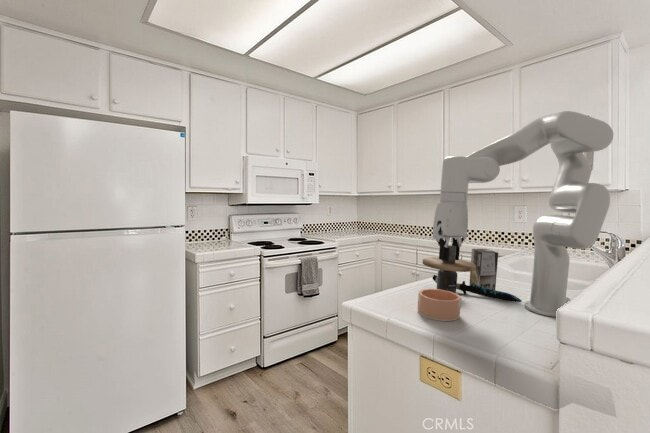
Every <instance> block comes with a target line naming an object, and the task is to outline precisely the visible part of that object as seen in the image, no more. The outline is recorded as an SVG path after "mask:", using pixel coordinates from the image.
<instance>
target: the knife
mask: <svg viewBox="0 0 650 433" xmlns="http://www.w3.org/2000/svg"><path fill="white" fill-rule="evenodd" d="M437 276H438V275H436V274H433V275H432V280H433V282H435V283H436V284H437ZM469 285H470V284H469ZM469 285H468V284H466V281H465V280H463V281H462V282H461V283H458V282H457V287H456V290H459V291H461V292H463V296H465V295H467V292H468V293H472V294H474V295H477V296H483V297H485V298H486V297H487V298H491V299H496V300H499V301H506V302H511V303H522V299H520V298H519V297H518V296H516V295H514V294H511V293H509V292H504V291H499V290H496V289H495V290H491V289H487V288H483V287H480V286H478V285H475V284H474V283H472V284H471V285H470V286H469Z"/></svg>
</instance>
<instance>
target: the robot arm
mask: <svg viewBox="0 0 650 433" xmlns="http://www.w3.org/2000/svg"><path fill="white" fill-rule="evenodd" d="M613 140H614V132H613V129H612V127H611V125H610V124H608V123H607V122H605V121H603V120H600V119H598V118H595V117H592V116H589V115H586V114H583V113H580V112H577V111H571V110H565V111H560V112H555V113H551V114H547V115H543V116H540V117H538V118H536V119H534V120H532V121H531V122H529V123H527V124H526V125H524V126H522V127H521V128H518V130H516V131H513V132H512V133H510V134H508V135H507V136H505V137H503V138H501V139H498V140H496V141H495V142H492V143H490V144H488V145H486V146H484V147H481V148H479V149H477V150H475V151H473V152H472V153H471V154H468V155H467V156H462V155H461V156H460V155H453V156H452V155H451V156H446V157H444V159H443V160H442V166H441V167H442V168H441V181H440V192H439V193H440V195H439V202H437V205H436V208H435V211H434V218H433V225H432V238H433V239H434V240H435V241H436V242H437V245H438V246H439V253H438V257H439V259H440V260H444V261H448V260H449V248H448V245H450V244H449V243H450V242H451V245H453V246H456V258H455V260H460V250H461V247H462V244H463V242H464V241H465V240H466V239H467V238H468V236H469V235H468V226H469V214H468V213H469V209H468V195H469V194H468V193H469V192H468V191H469V184H485V183H490V182H493V181H494V180H495V179H497V177H498V176H499V175H500V171H501V169H500V167H501V166H506V165H511V164H513V163H517V162H519V161H522V160H524V159H526V158H528V157H529V156H531V155H533V154H534V153H536V152H538V151H539V150H541V149H542V148H544V147H545V146H547V145H549V144H550V148H551V151H552V152H553V153H554V154H555V157H556V159H557V161H558V172H557V176H556V178H555V181H554V183H553V186H552V189H551V192H550V195H549V199H548V206H549V208H550V209H551V210H553V211H556V212H559V213H565V214H574V216H570V215H562V214H561V215H560V214H545V215H542V216H540V217H538V218H537V219H536V220H535V222H534V223H533V226H532V234H533V235H532V237H533V242H534V251H533V252H534V253H533V254H534V255H533V256H534V257H533V267H532V275H531V277H532V278H531V286H530V287H531V289H530V298H529V300H528V301H525V302H524V305H523V306H524V308H525V309H526V310H528V311H531V312H533V313H536V314H538V315H542V316H546V317H547V316H548V317H552V318H557V317H556V311H557V309H558V308H560V307H561V306H563V305H564V304H565V303H566V304H568V303H567V302H568V301H570V302H571V298H570V297H568V296H567V290H568V289H567V288H568V279H569V270H570V254H569V252H568V249H567V248H569V249H577V250H587V249H589V248H590V247H592V246H594V244H595V243H596V242H597V240H598V238H599V235H600V234H601V230H602V228H603V225H604V222H605V219H606V217H607V214H608V211H609V208H610V205H611V196H610V191H609V189H608V188H607V187H606V186H605V185H603V184H600V183H597V182H590V179H591V175H592V166H591V163H590V161H589V160H588V159H587V157H586V155H585V154H584V153H590V152H592V153H595V152H599V151H602V150H605V149H607V148H608V147H609V146H610V145H611V144H612V142H613ZM450 238H451V241H450ZM566 304H565V305H566Z"/></svg>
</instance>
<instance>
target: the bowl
mask: <svg viewBox="0 0 650 433" xmlns="http://www.w3.org/2000/svg"><path fill="white" fill-rule="evenodd" d="M417 295H418V298H417V299H418V300H417V312H418V314H419V315H421V316H422V317H423V318H426V319H430V320H433V321H437V322H454V321H457V320H459V319H460V316H461V305H462V297H461V296H460V295H459V294H458V293H457V292H456V293H453V292H450V291H446V290H440V289H437V288H425V289H421V290H419V291H418V294H417Z"/></svg>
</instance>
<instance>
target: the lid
mask: <svg viewBox="0 0 650 433" xmlns="http://www.w3.org/2000/svg"><path fill="white" fill-rule="evenodd" d="M448 248H449V260H448V261H444V260H440V259H439V256H438V257H437V256H434V257H433V256H430V257H424V258H422V265H424V266H426V267H429V268H431V269H436V270H438V271H439V270H446V271H455V272H457V273H459V272H460V273H463V272H464V273H468V272H469V273H470V271H475V270H476V265H475V264H473V263H471V261H468V260H464V259H459V260H455V258H456V246H453V245H452V244H448Z"/></svg>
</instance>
